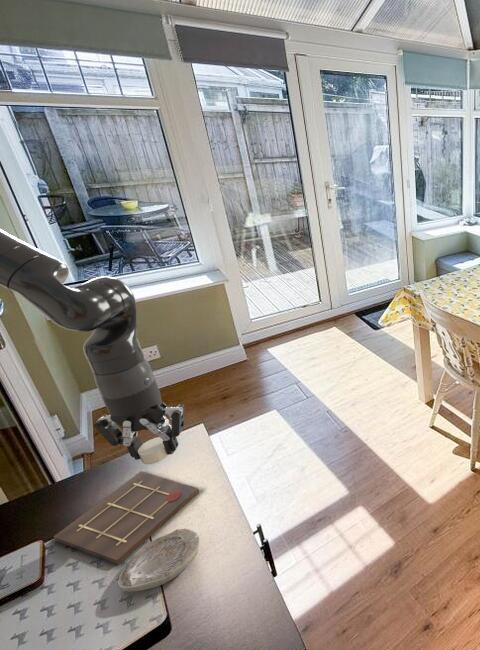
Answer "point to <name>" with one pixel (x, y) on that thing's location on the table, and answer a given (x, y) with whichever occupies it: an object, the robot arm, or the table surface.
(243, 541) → the table surface
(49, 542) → the table surface
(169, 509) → the board
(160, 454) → the stone
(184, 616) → the table surface
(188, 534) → the fossil
